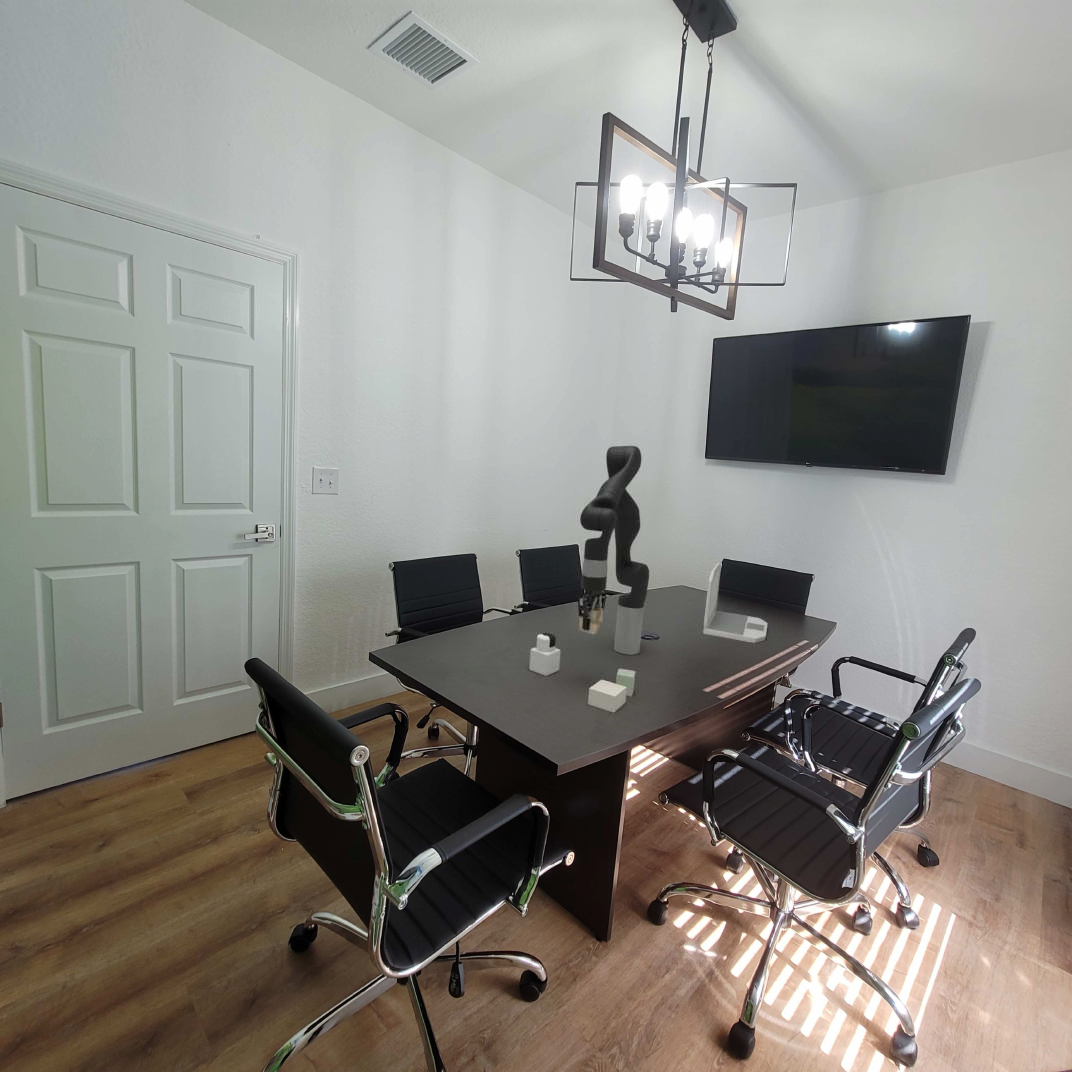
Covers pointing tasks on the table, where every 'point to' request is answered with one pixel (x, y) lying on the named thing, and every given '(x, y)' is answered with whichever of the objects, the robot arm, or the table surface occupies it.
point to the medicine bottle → (545, 655)
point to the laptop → (729, 617)
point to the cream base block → (607, 695)
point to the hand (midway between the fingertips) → (590, 627)
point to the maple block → (593, 621)
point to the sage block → (626, 680)
